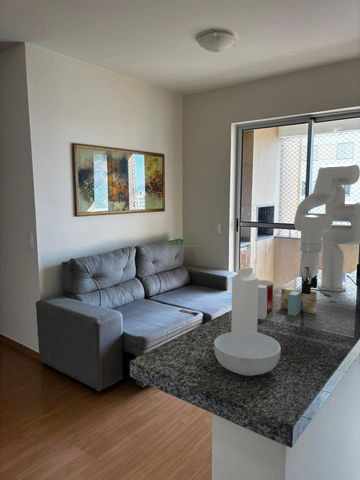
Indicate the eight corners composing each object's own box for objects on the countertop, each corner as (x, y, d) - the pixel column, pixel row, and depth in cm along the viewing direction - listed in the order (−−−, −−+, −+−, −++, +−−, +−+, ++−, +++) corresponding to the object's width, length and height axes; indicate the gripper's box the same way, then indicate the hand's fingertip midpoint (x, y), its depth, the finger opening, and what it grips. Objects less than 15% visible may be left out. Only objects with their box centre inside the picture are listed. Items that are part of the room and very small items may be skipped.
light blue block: (299, 304, 148) (300, 285, 147) (307, 305, 147) (307, 286, 146) (287, 314, 135) (288, 294, 134) (295, 316, 134) (296, 295, 133)
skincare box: (267, 316, 133) (267, 285, 132) (264, 320, 129) (265, 288, 128) (251, 314, 136) (251, 283, 134) (248, 317, 132) (248, 286, 131)
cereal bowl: (202, 373, 90) (202, 346, 90) (230, 349, 104) (230, 326, 103) (266, 393, 81) (267, 363, 80) (288, 364, 95) (289, 339, 94)
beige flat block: (280, 307, 144) (281, 288, 143) (283, 306, 146) (283, 287, 145) (314, 313, 136) (314, 293, 135) (316, 311, 139) (316, 291, 138)
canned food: (270, 306, 146) (271, 280, 144) (273, 312, 138) (274, 285, 136) (251, 306, 146) (252, 280, 145) (253, 312, 138) (254, 284, 137)
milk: (257, 336, 114) (259, 269, 112) (242, 340, 111) (244, 271, 109) (245, 330, 120) (246, 266, 117) (230, 333, 117) (232, 267, 114)
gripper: (306, 243, 145) (305, 284, 148) (294, 250, 131) (293, 294, 133) (326, 245, 141) (324, 286, 143) (315, 251, 127) (313, 298, 129)
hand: (309, 290), depth 138 cm, fingers open, 9 cm apart
